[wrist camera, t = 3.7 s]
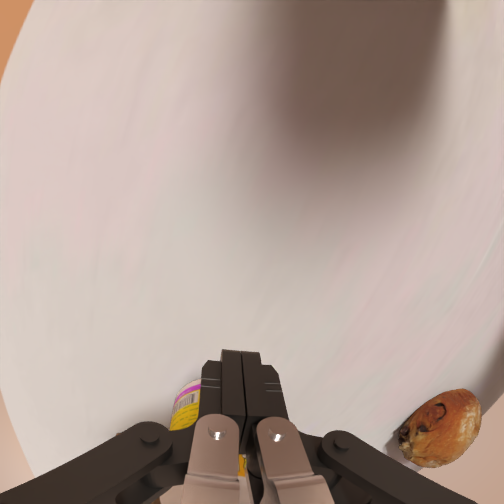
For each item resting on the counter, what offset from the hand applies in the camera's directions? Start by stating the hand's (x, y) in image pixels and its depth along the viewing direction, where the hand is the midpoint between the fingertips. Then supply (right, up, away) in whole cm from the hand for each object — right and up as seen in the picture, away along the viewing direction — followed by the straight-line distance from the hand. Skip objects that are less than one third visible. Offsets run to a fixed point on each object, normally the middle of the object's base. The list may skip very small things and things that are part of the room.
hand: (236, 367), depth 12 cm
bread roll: (+21, -14, +14) cm, 29 cm away
